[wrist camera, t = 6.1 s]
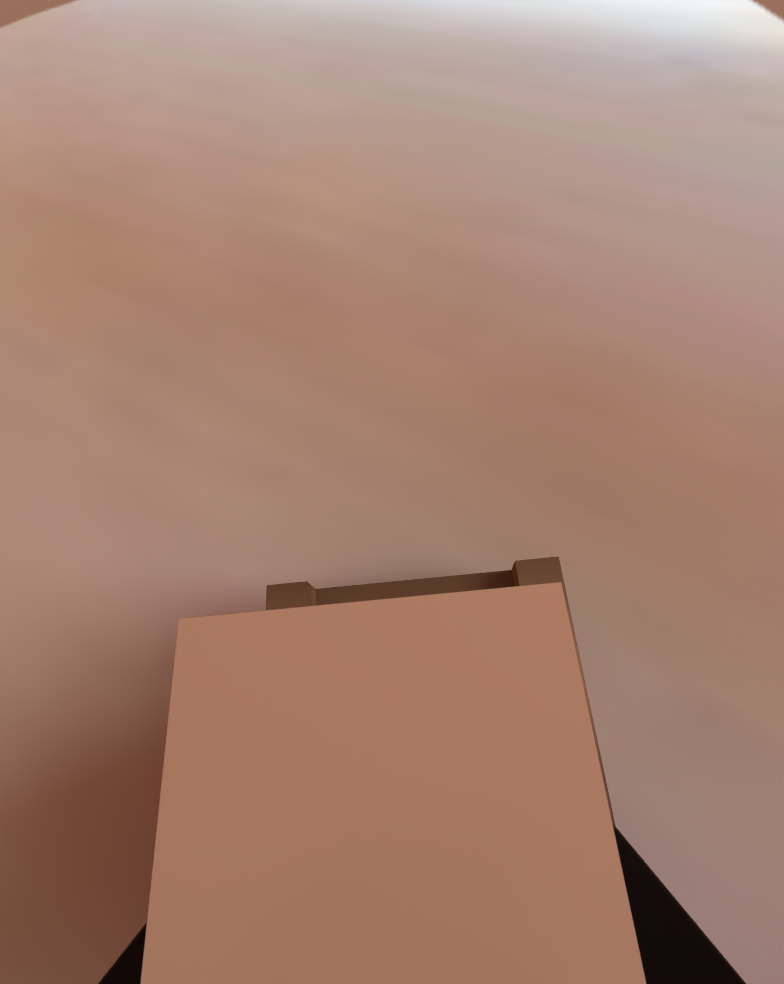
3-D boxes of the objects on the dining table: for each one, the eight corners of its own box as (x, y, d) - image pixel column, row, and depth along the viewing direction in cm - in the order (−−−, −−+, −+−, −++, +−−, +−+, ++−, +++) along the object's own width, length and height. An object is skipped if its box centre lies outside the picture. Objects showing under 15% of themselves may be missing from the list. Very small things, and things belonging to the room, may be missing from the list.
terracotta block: (553, 1037, 11) (915, 2252, 2) (356, 1043, 12) (20, 2119, 3) (497, 666, 15) (561, 581, 6) (346, 678, 15) (178, 619, 6)
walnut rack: (648, 1109, 12) (727, 1273, 9) (291, 1115, 13) (229, 1267, 10) (546, 588, 18) (569, 555, 14) (296, 611, 18) (256, 586, 15)
